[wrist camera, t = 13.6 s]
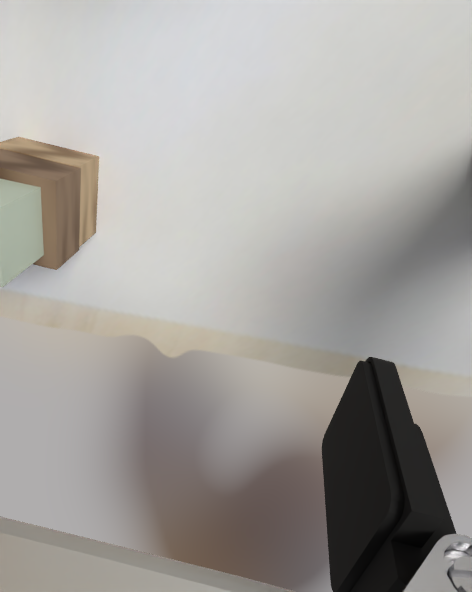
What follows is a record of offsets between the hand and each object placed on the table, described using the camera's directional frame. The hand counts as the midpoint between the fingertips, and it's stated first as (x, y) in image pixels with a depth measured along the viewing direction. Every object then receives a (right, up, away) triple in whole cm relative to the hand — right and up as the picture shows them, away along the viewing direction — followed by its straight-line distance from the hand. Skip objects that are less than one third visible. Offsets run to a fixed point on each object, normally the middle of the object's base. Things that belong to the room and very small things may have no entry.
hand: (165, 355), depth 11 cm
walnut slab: (-17, +10, +29) cm, 35 cm away
